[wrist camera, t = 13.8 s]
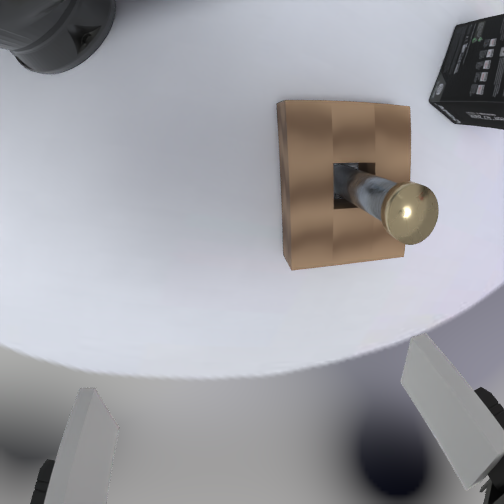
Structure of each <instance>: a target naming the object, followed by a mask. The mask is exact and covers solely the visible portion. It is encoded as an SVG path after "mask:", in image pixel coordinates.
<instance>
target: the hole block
mask: <svg viewBox="0 0 504 504" xmlns="http://www.w3.org/2000/svg"><path fill="white" fill-rule="evenodd" d="M277 119H278V136H279V155H280V176H281V200H282V227H283V255H284V257H285V259H286V261H287V263H288V265H289V267H290V268H291V270H299V269H308V268H317V267H325V266H334V265H342V264H350V263H358V262H366V261H374V260H382V259H390V258H398V257H404V251H405V244H403V243H401V242H400V241H398V240H397V239H395V238H394V237H393V236H391V235H390V234H389V233H388V232H387V231H386V230H385V228H384V227H383V224H382V221H380V220H378V219H377V218H375V217H374V216H372V215H370V214H369V213H367V212H365V211H364V210H362V209H360V208H359V207H357V206H356V205H354V204H352V203H350V202H349V201H347V200H345V199H334V178H333V163H358V170H361V171H364V172H367V173H370V174H373V175H376V176H379V177H382V178H384V179H387V180H390V181H393V182H395V183H400V182H404V181H410V167H411V118H410V107H409V106H400V105H391V104H380V103H367V102H351V101H326V100H285V101H282V102H280V103H277Z"/></svg>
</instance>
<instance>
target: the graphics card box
mask: <svg viewBox="0 0 504 504" xmlns="http://www.w3.org/2000/svg"><path fill="white" fill-rule="evenodd" d="M430 103H431V104H432V105H433V106H434V107H436V108H437V109H438V110H440V111H441V112H442V113H443V114H444V115H445V116H447V117H448V118H449V119H450V120H451V121H452V122H453V123H455V124H463V125H473V126H481V127H490V128H497V129H503V130H504V14H501V15H496V16H492V17H488V18H484V19H480V20H476V21H472V22H468V23H463V24H460V25H457V26H456V28H455V32H454V35H453V38H452V41H451V43H450V46H449V49H448V52H447V55H446V58H445V61H444V63H443V66H442V69H441V71H440V74H439V76H438V79H437V82H436V84H435V87H434V89H433V92H432V95H431V97H430Z"/></svg>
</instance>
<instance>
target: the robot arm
mask: <svg viewBox="0 0 504 504" xmlns="http://www.w3.org/2000/svg"><path fill="white" fill-rule="evenodd" d="M114 16H115V0H0V48H2V49H6V50H10V52H11V53H12V54H13V55H14V56H15V57H16V59H17V60H18V61H19V63H20V64H21V65H22V66H24V67H25V68H27V69H29V70H31V71H34V72H38V73H42V74H56V73H61V72H64V71H67V70H69V69H71V68H73V67H75V66H77V65H79V64H80V63H82V62H83V61H84V60H86V59H87V58H88V57H89V56H90V55H92V54H93V53H94V52H95V50H96V49H97V48H98V47H99V46H100V45H101V43H102V42H103V41H104V39H105V37H106V36H107V34H108V32H109V30H110V28H111V26H112V23H113V20H114ZM400 382H401V384H402V385H403V387H404V388H405V390H406V392H407V393H408V395H409V396H410V398H411V399H412V401H413V403H414V404H415V405H416V407H417V409H418V411H419V412H420V414H421V415H422V417H423V419H424V420H425V422H426V424H427V425H428V426H429V428H430V430H431V432H432V433H433V435H434V437H435V438H436V440H437V442H438V443H439V445H440V447H441V448H442V450H443V452H444V454H445V455H446V457H447V459H448V460H449V462H450V463H451V466H452V467H453V469H454V471H455V472H456V474H457V476H458V478H459V480H460V481H461V483H462V485H463V487H464V488H465V490H468V489H470V488H472V487H473V486H475V485H477V484H478V483H480V482H481V481H482V480H483V479H484V478H485V477H486V476H487V475H488V476H489V478H490V479H489V480H488V481H487V482H486V483H485V484H484V485H483V486H482V487H481V490H480V492H483V491H484V490H485V489H486V488H487V490H486V492H485V493H486V494H485V499H484V503H483V504H504V409H503V407H502V406H501V405H500V404H498V401H497V400H496V398H495V397H494V396H493V395H492V393H490V392H488V391H487V390H485V389H484V388H482V387H480V388H478V389H476V390H473V389H472V388H471V387H470V386H469V384H468V383H467V382H466V380H465V379H464V378H463V377H462V375H461V374H460V373H459V372H458V371H457V369H456V368H455V367H454V366H453V365H452V363H451V362H450V361H449V360H448V359H447V357H446V356H445V355H444V354H443V353H442V351H441V350H440V349H439V348H438V347H437V346H436V344H435V343H434V342H433V341H432V340H431V339H430V337H429V336H428V335H427V334H426V333H423V334H420V335H416V336H413V337H411V339H410V344H409V349H408V353H407V357H406V361H405V366H404V370H403V373H402V377H401V381H400ZM118 433H119V426H118V424H117V423H116V421H115V420H114V418H113V417H112V415H111V413H110V412H109V410H108V409H107V407H106V405H105V404H104V402H103V400H102V399H101V397H100V395H99V394H98V392H97V390H96V388H80V389H79V392H78V395H77V397H76V400H75V403H74V406H73V408H72V411H71V414H70V417H69V420H68V423H67V426H66V429H65V432H64V435H63V438H62V441H61V444H60V447H59V451H58V454H57V457H56V461H54V460H46V462H45V463H44V464H43V466H42V467H41V468H40V471H39V474H38V478H37V482H36V485H35V491H34V492H33V496H32V500H31V503H30V504H106V503H107V495H108V489H109V483H110V477H111V471H112V465H113V458H114V454H115V448H116V443H117V438H118Z"/></svg>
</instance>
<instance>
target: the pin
mask: <svg viewBox="0 0 504 504" xmlns="http://www.w3.org/2000/svg"><path fill="white" fill-rule="evenodd" d="M333 178H334V193H335V194H337V195H339V196H340V197H342V198H344V199H345V200H347V201H349V202H350V203H352V204H354V205H356V206H357V207H359V208H360V209H362V210H364V211H365V212H367V213H369V214H370V215H372V216H374V217H375V218H377V219H378V220H380V221H382V224H383V227H384V228H385V230H386V231H387V232H388V233H389V234H390V235H391V236H393V237H394V238H395V239H397V240H398V241H400V242H401V243H403V244H408V245H413V244H417V243H420V242H422V241H423V240H425V239H426V238H427V237H428V236H429V235H430V233H431V232H432V231H433V229H434V227H435V225H436V222H437V219H438V202H437V199H436V197H435V195H434V193H433V192H432V191H431V190H430V189H429V188H427V187H426V186H423V185H420V184H418V183H415V182H411V181H404V182H400V183H395V182H393V181H390V180H387V179H384V178H382V177H379V176H376V175H373V174H370V173H367V172H364V171H361V170H358V169H355V168H352V167H349V166H346V165H343V164H337V165H334V166H333Z"/></svg>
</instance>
